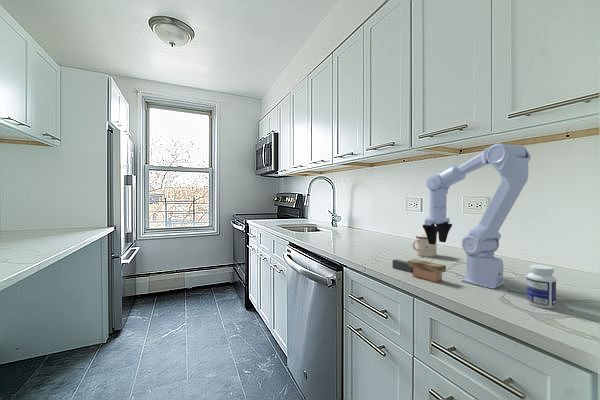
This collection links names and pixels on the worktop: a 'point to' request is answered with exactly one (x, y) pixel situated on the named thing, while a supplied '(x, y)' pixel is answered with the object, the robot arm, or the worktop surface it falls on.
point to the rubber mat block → (402, 265)
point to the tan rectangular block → (427, 275)
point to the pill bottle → (541, 287)
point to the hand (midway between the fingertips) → (437, 243)
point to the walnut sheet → (427, 266)
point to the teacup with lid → (424, 246)
